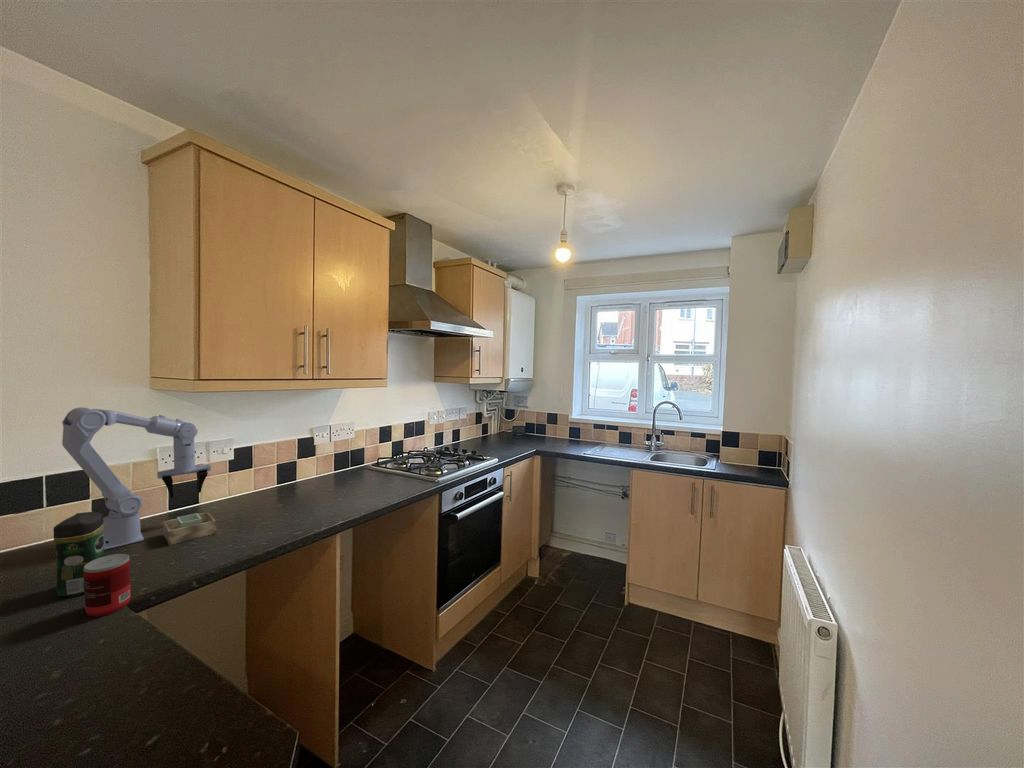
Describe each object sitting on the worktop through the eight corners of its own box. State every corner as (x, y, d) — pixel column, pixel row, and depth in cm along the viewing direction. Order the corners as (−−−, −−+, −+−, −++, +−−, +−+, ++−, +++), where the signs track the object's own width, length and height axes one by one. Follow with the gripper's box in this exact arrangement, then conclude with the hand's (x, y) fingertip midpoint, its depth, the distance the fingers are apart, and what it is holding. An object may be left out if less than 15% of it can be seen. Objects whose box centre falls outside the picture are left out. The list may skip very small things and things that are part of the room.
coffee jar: (71, 581, 107) (68, 511, 106) (111, 575, 110) (108, 507, 109) (49, 601, 98) (45, 525, 97) (93, 593, 101) (90, 520, 100)
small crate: (181, 538, 131) (180, 523, 131) (177, 532, 136) (176, 517, 136) (202, 533, 135) (201, 518, 135) (197, 527, 140) (197, 513, 140)
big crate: (169, 545, 128) (168, 531, 127) (163, 534, 135) (162, 521, 135) (216, 533, 137) (216, 520, 136) (208, 524, 144) (208, 511, 144)
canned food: (130, 593, 102) (128, 550, 101) (131, 607, 96) (130, 562, 95) (86, 606, 96) (83, 560, 96) (84, 622, 91) (82, 573, 90)
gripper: (158, 461, 135) (160, 502, 136) (212, 454, 146) (213, 492, 147) (155, 458, 140) (157, 497, 141) (207, 451, 151) (208, 488, 152)
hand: (185, 494), depth 144 cm, fingers open, 7 cm apart
